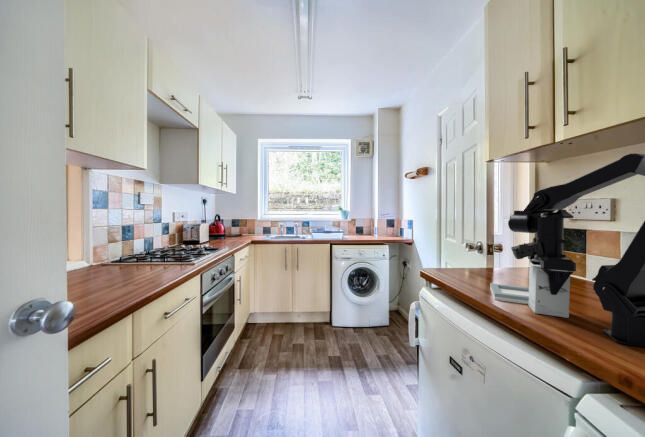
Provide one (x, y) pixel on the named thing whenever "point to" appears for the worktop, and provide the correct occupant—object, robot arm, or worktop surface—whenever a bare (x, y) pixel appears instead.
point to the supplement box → (547, 294)
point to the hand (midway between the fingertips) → (548, 290)
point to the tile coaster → (510, 293)
